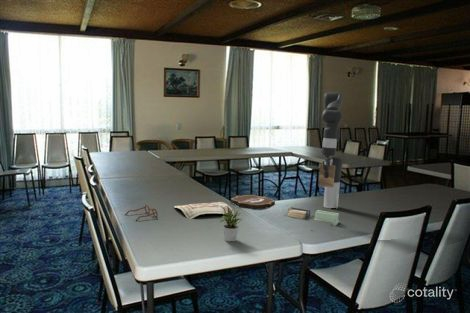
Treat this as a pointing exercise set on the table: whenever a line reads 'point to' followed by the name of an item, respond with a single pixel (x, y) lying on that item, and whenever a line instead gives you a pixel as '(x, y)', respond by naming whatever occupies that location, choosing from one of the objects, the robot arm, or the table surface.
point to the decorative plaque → (253, 201)
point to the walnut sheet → (326, 181)
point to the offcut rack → (308, 212)
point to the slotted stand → (327, 217)
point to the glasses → (146, 212)
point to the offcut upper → (297, 212)
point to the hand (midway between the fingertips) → (326, 177)
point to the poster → (203, 209)
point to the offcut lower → (296, 216)
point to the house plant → (230, 225)
